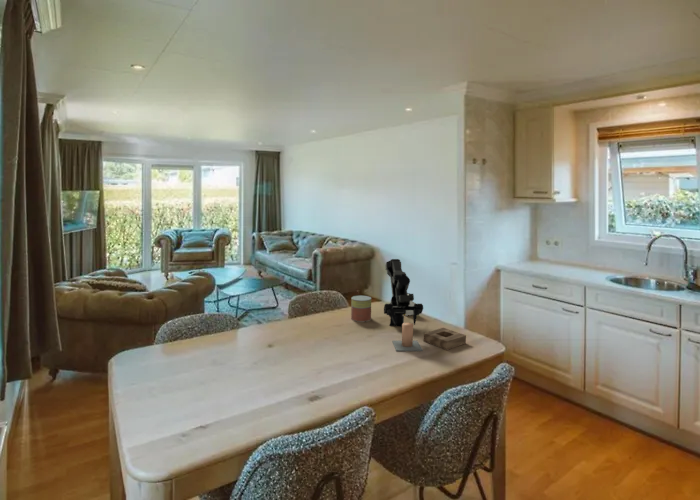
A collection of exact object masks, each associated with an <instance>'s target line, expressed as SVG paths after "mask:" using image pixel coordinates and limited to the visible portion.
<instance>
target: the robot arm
mask: <svg viewBox="0 0 700 500" xmlns="http://www.w3.org/2000/svg"><path fill="white" fill-rule="evenodd" d="M385 270H386V274H387V275H388V277H390V284H391V285H390V286H391V288H390V289H391V299H390V302H389V303H385V304H384V305H383V306H384V307H383V314H385V315H386V316H388V317H389V318H390V319H389V321H390V322H389V326H392V327H401V328H402V324H403V323H405V316H404V315H405V314H406V310H413V312H414V313H413V315H412V317H413V318H412V319H413V320H412V321H413V326H414V325H416V322H417V316H419V315H420V314H423V310H424V305H423V303H416V304H414V306H409V305H410V301H412V302H414V300H415V296H414V293H410V294H409V295H407V293H408V289H409V286H410V282H411V280H410V278H409V276H407V273H406V272H405V271H403V269H402V261H401V260H400V259H399V258H392V259H391V258H390V260H388V261H386V263H385ZM403 314H404V315H403Z"/></svg>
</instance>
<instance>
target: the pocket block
mask: <svg viewBox="0 0 700 500" xmlns="http://www.w3.org/2000/svg"><path fill="white" fill-rule="evenodd" d="M423 342H424V343H427V344H430V345H433V346H435V347H438V348H440V349H443V350H446V351H447V350H450V349H453V348H456V347H459V346H462V345H465V344H466V343H467V335H466V334H463V333H461V332H458V331H454V330H453V329H448V328H446V327H440V328H437V329H433V330H430V331H427V332H423Z"/></svg>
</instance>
